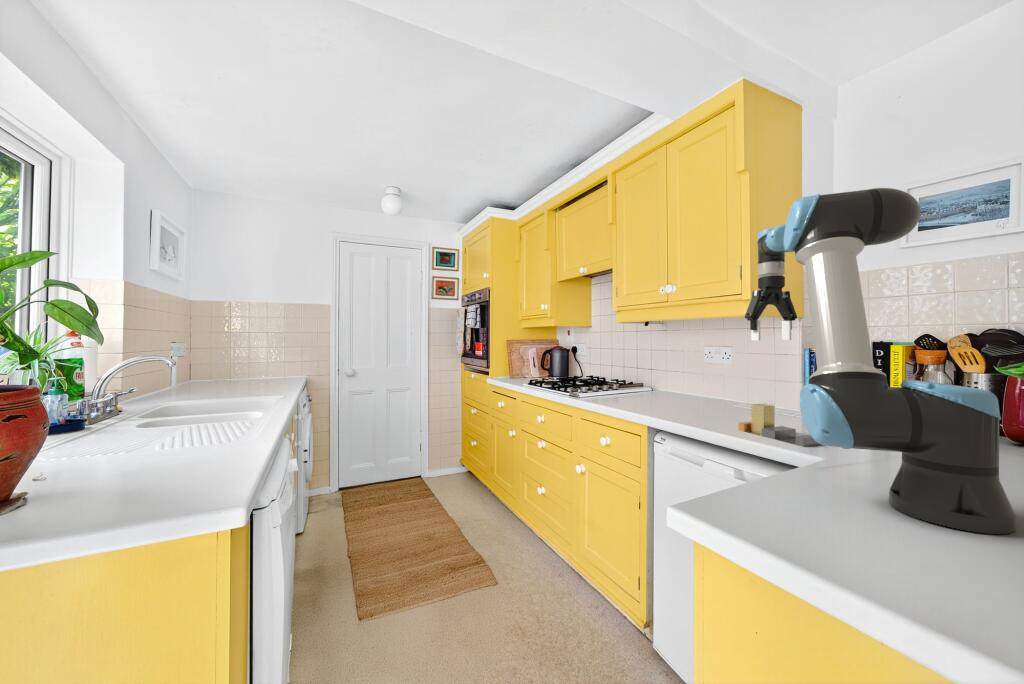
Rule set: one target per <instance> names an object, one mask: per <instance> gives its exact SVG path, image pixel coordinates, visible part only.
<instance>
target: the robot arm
mask: <svg viewBox="0 0 1024 684" xmlns="http://www.w3.org/2000/svg"><path fill="white" fill-rule="evenodd" d="M789 209H790V210H789V212H788V215H787V219H786V222H785V224H780V225H779V224H778V226H775V227H770V228H765V229H763V230H760V231H759V232H758V233H757V234H758V235H757V277H759V278H758V279H757V288H758V289H757V290H752V292H751V294H752V295H751V298H750V302H749V304H748V306H747V309H746V311H745V315H744V319H746V321H749V322H750V324H749V325H750V328H749V329H750V332H751V333H750V335H751V336H750V337H751V338H750V339H751V341H761V320H759V319H760V317H761V315H762V314H763V312H764V310H765V309H766V308H767V306H768V305H770V306H771V305H772V306H774V307H775V308H776V309H777V312H778V313H779V315H780V316H781V317H782V319H783V320H782V321H781V340H782V341H792V329H793V321H796V319H797V318H798V315H797V313H796V309H795V306H794V303H793V301H792V299H791V291H789V290H785V291H783V289H784V288H785V286H786V277H785V274H786V272H785V271H786V270H785V269H786V267H785V266H786V265H785V264H786V263H785V262H786V260H785V258H786V253H794V254H795V255H794V256H795V257H794V258H795V260H796V262H797V263H799V264H801V265H802V266H804V267H805V276H806V285H807V292H808V293H807V294H808V295H807V296H808V302H809V309H810V311H809V312H810V319H811V329H812V336H813V342H814V343H813V344H814V354H815V360H816V361H815V362H816V371H814V372H813V373H812V374H811V375H810V376H809V377H808V384H805V385H804V386H802V387H801V389H800V392H799V398H800V401H799V409H800V413H801V417H802V418H801V419H802V421H803V423H804V426H805V429H806V430H807V432H808V435H811V437H812V438H813V439H814V440H815V441H816V442H818V443H819V444H822V445H821V446H824V447H825V446H826V447H833V448H834V447H835V448H842V449H844V450H850V449H855V450H856V449H857V450H867V451H868V450H870V451H883V452H896V453H897V452H898V453H901V464H900V466H899V469H898V471H897V473H896V475H895V477H894V479H893V481H892V483H891V486H890V488H889V489H888V490H889V491H888V503H889V505H890V506H891V507H892V508H894V510H897V511H899V513H902V514H905V515H907V516H909V515H910V516H909V517H912V518H915V519H917V518H918V520H920V519H921V520H920V521H923V520H924V522H927V521H928V522H927V523H930V522H931V523H930V524H934V523H935V524H934V525H937V524H939V525H938V526H941V525H943V526H942V527H945V526H947V527H946V528H950V527H951V528H950V529H954V528H956V529H955V530H959V529H960V530H961V531H965V530H966V532H971V531H972V532H973V533H980V534H991V535H995V534H996V535H1005V534H1011V533H1014V532H1015V531H1016V530H1017V517H1016V513H1015V510H1014V507H1013V506H1012V504H1011V502H1010V500H1009V497H1008V495H1007V493H1006V491H1005V490H1004V487H1003V485H1002V482H1001V480H1000V421H1001V420H1002V416H1001V412H1000V404H999V399H998V397H997V395H996V394H994V393H993V392H991V391H990V390H986V389H982V388H976V387H969V386H962V385H956V384H948V383H947V384H946V383H940V382H930V381H926V380H916V379H903V380H902V381H901V383H900V385H899V387H897V386H895V387H894V386H893V387H892V386H889V384H888V379H887V374H886V373H885V372H883V371H881V370H880V369H878V368H876V367H875V366H874V365H875V364H874V360H873V359H874V358H873V352H872V346H871V342H870V341H871V340H870V334H869V329H868V328H869V327H868V322H867V316H866V311H865V305H864V296H863V291H862V285H861V279H860V272H859V271H860V270H859V267H858V266H859V265H858V259H857V256H858V255H859V254H861V253H862V252H863V250H864V249H865V247H866V246H877V245H882V244H886V243H892V242H894V241H897V240H899V239H901V238H903V237H905V236H907V235H908V234H909V233H911V232H912V231H913V230H914V229H915V228H916V226H917V225H918V223H919V221H920V218H921V214H922V212H921V206H920V204H919V201H918V200H917V199H916V198H915V197H914V196H913V195H911V194H910V193H908V192H906V191H905V190H901V189H898V188H890V187H875V188H869V189H861V190H853V191H852V190H851V191H845V192H835V193H828V194H820V193H816V194H815V195H809V196H801V197H800V198H797V199H796V200H794V202H793V203H792V205H791V206H790V208H789Z"/></svg>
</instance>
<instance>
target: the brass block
mask: <svg viewBox="0 0 1024 684" xmlns="http://www.w3.org/2000/svg"><path fill="white" fill-rule="evenodd" d="M750 405H751V406H750V407H751V409H750V410H751V416H750V417H751V418H750V419H751V421H750V422H751V432H754V433H758V434H762V428H768V427H775V405H772V404H768V403H767V404H766V403H751V404H750Z"/></svg>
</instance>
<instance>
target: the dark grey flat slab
mask: <svg viewBox="0 0 1024 684" xmlns="http://www.w3.org/2000/svg"><path fill="white" fill-rule="evenodd" d="M737 426H738V428H737V430H738V431H740V432H744V433H748V434H752V435H756V436H760V437H763V438H767V439H771V440H775V441H778V442H783V443H787V444H792V445H795V446H798V447H802V448H803V447H804V448H807V447H815V446H823V445H822V444H819V443H818V442H816V441H815V440H814V439H813V438H812V437H811V435H810V434H804V435H796V434H797V431H796V430H797V429H796V428H792V427H787V426H783V425H779V426H774V427H768V428H762V434H758V433H754V432H751V421H741V422H738V425H737Z"/></svg>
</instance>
